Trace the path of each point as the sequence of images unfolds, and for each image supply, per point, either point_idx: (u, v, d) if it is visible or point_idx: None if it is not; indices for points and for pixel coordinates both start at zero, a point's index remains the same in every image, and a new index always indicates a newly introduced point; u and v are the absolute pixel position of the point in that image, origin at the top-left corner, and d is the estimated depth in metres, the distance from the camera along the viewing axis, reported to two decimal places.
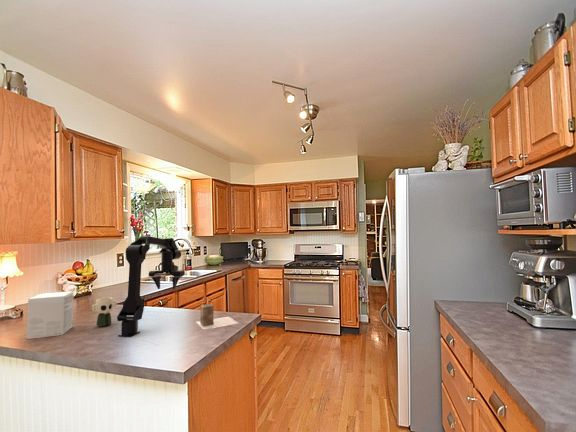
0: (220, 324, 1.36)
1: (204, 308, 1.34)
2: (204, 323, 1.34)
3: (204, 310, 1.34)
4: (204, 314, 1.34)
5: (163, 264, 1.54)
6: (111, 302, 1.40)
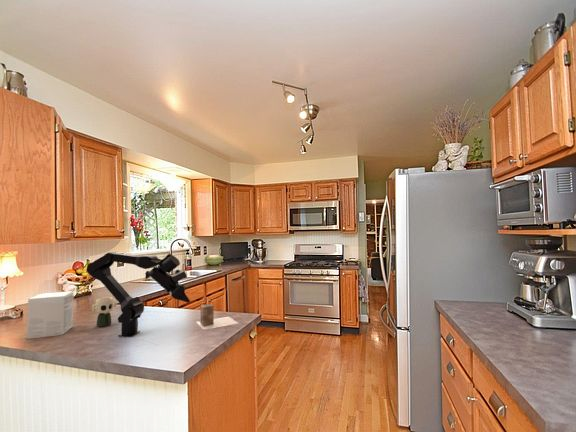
0: (220, 324, 1.36)
1: (204, 308, 1.34)
2: (204, 323, 1.34)
3: (204, 310, 1.34)
4: (204, 314, 1.34)
5: None
6: (111, 302, 1.40)
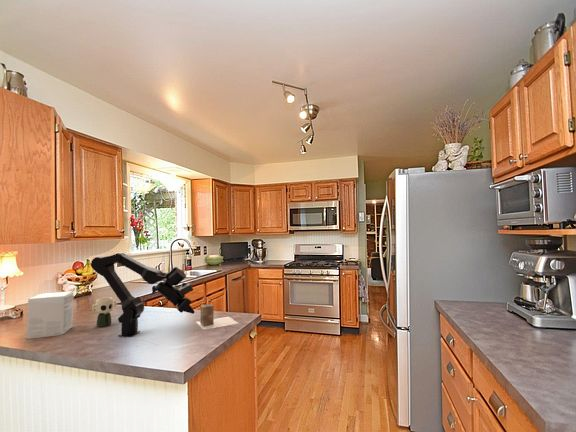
0: (220, 324, 1.36)
1: (204, 308, 1.34)
2: (204, 323, 1.34)
3: (204, 310, 1.34)
4: (204, 314, 1.34)
5: None
6: (111, 302, 1.40)
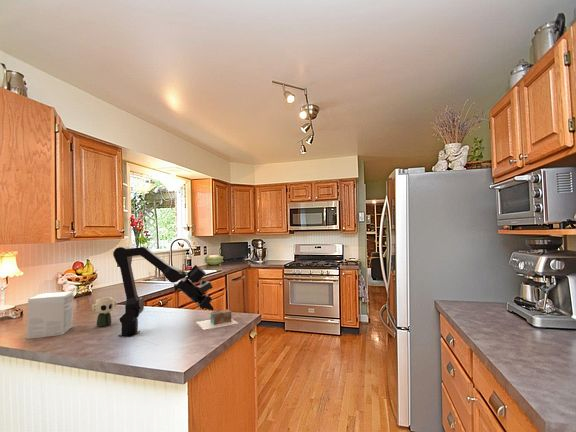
0: (220, 324, 1.36)
1: (230, 312, 1.40)
2: (216, 315, 1.37)
3: (228, 313, 1.40)
4: (224, 313, 1.39)
5: (188, 296, 1.33)
6: (111, 302, 1.40)
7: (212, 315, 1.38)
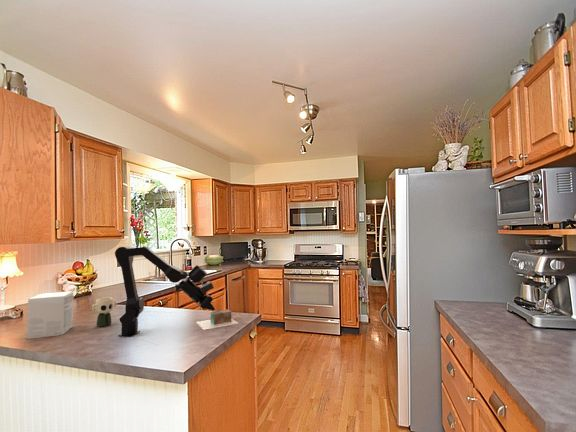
0: (220, 324, 1.36)
1: (230, 312, 1.40)
2: (216, 315, 1.37)
3: (228, 313, 1.40)
4: (224, 313, 1.39)
5: (189, 296, 1.34)
6: (111, 302, 1.40)
7: (212, 315, 1.38)
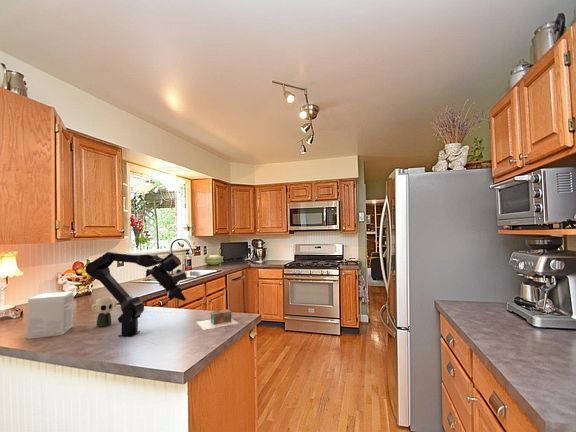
0: (220, 324, 1.36)
1: (230, 312, 1.40)
2: (216, 315, 1.37)
3: (228, 313, 1.40)
4: (224, 313, 1.39)
5: None
6: (111, 302, 1.40)
7: (212, 315, 1.38)
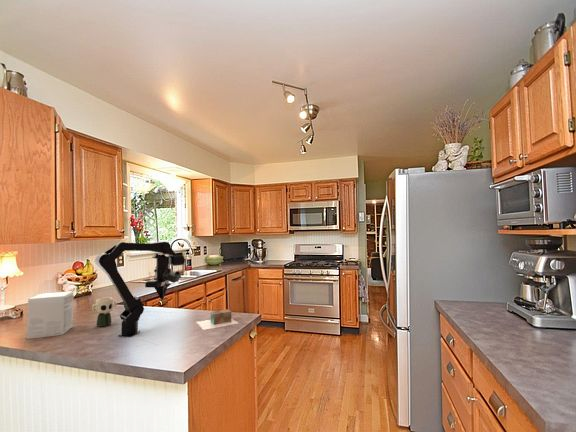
0: (220, 324, 1.36)
1: (230, 312, 1.40)
2: (216, 315, 1.37)
3: (228, 313, 1.40)
4: (224, 313, 1.39)
5: None
6: (111, 302, 1.40)
7: (212, 315, 1.38)
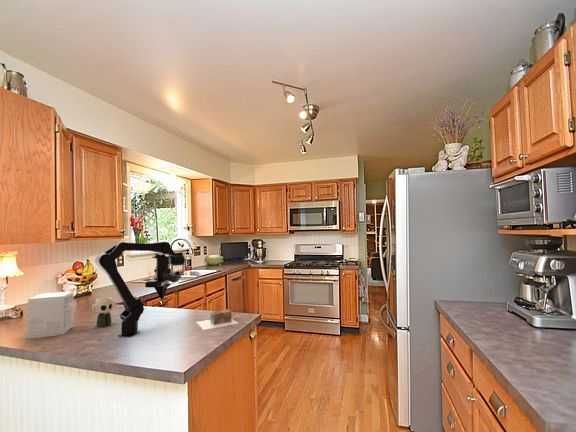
0: (220, 324, 1.36)
1: (230, 312, 1.40)
2: (216, 315, 1.37)
3: (228, 313, 1.40)
4: (224, 313, 1.39)
5: None
6: (111, 302, 1.40)
7: (212, 315, 1.38)
